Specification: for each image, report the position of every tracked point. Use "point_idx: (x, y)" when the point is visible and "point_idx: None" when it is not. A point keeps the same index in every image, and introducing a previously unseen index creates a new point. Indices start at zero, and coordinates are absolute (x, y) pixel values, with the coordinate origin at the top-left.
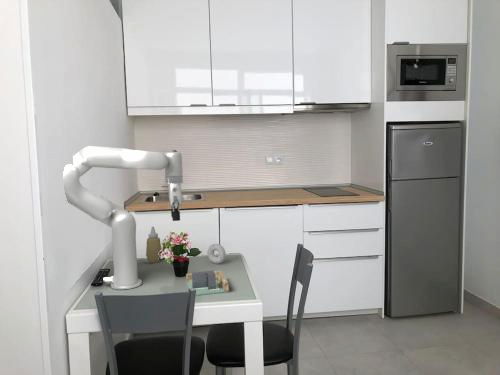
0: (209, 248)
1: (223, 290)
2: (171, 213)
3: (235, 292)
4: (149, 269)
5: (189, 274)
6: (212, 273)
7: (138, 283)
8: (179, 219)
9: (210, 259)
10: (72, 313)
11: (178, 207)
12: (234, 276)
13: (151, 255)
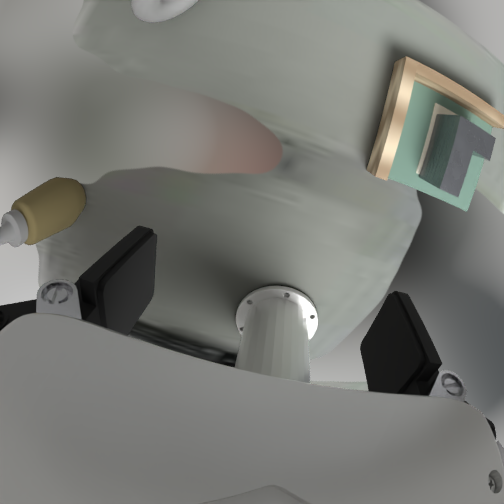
0: (147, 7)
1: (484, 123)
2: (132, 320)
3: (499, 104)
4: None
5: (388, 170)
6: (484, 139)
7: (307, 302)
8: (405, 301)
9: (170, 18)
10: None
11: (491, 423)
12: (378, 12)
13: (74, 216)
